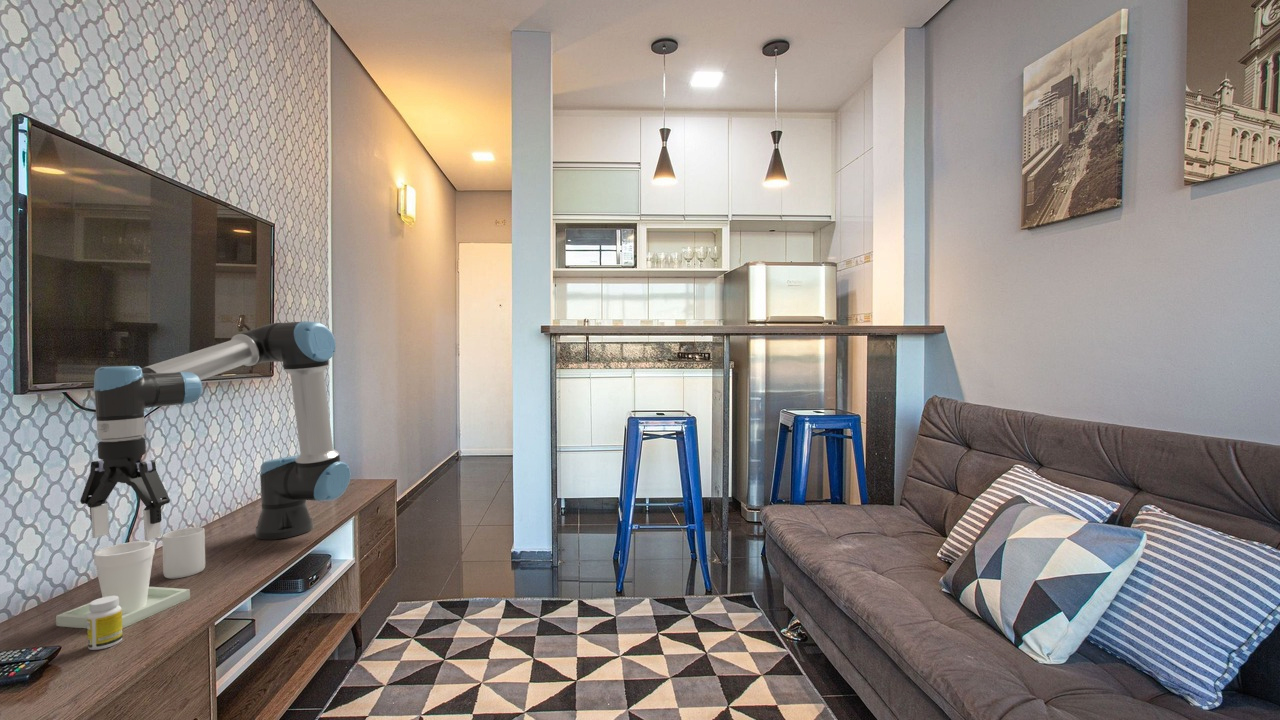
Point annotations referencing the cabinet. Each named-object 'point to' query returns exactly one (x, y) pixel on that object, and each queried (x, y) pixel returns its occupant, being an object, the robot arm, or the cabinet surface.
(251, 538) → the cabinet surface
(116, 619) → the supplement bottle
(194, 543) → the white oval container
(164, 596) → the tray
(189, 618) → the cabinet surface
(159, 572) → the cabinet surface
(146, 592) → the foam cup
